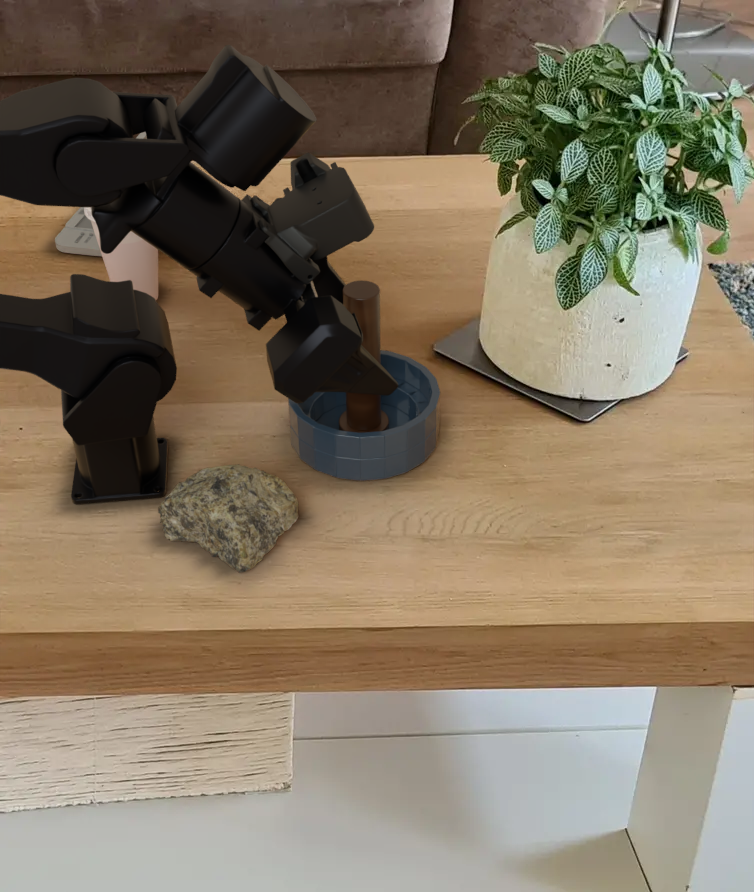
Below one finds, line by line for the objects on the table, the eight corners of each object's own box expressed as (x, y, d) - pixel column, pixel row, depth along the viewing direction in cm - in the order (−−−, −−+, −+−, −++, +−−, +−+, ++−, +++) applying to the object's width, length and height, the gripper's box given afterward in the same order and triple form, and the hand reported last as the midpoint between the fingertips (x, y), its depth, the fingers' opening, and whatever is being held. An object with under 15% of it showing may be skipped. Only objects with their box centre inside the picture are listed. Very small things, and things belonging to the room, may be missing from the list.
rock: (227, 481, 85) (221, 431, 82) (312, 522, 82) (310, 472, 79) (157, 536, 80) (149, 485, 77) (245, 582, 77) (240, 531, 74)
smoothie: (182, 281, 107) (163, 136, 98) (161, 318, 102) (140, 169, 93) (113, 276, 107) (88, 131, 98) (90, 313, 102) (61, 163, 93)
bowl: (448, 479, 86) (450, 430, 83) (295, 491, 84) (292, 442, 81) (426, 390, 94) (427, 344, 91) (287, 400, 93) (283, 353, 90)
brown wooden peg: (358, 454, 87) (354, 309, 79) (329, 429, 89) (323, 286, 81) (399, 436, 89) (399, 292, 81) (370, 412, 91) (367, 270, 83)
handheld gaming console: (103, 191, 120) (88, 97, 114) (189, 200, 120) (178, 105, 113) (50, 252, 110) (30, 153, 104) (143, 262, 109) (128, 162, 103)
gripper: (321, 209, 66) (496, 348, 75) (272, 86, 80) (424, 216, 89) (195, 342, 69) (378, 460, 79) (169, 202, 83) (327, 316, 93)
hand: (379, 353), depth 85 cm, fingers open, 9 cm apart
